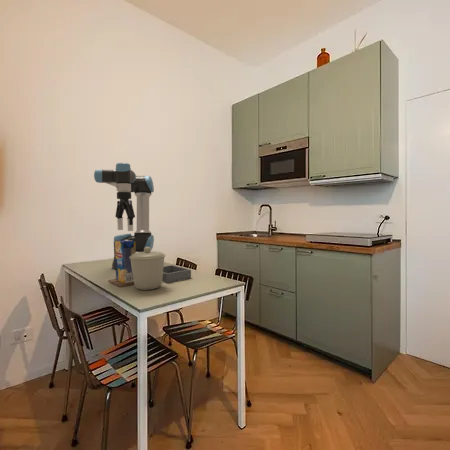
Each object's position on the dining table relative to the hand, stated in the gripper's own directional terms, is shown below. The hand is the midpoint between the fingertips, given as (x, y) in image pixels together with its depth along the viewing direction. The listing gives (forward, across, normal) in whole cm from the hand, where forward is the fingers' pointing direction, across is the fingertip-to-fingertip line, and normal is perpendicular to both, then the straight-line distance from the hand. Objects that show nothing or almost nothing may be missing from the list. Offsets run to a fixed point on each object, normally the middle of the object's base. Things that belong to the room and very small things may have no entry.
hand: (125, 230), depth 160 cm
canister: (+29, +19, +3) cm, 35 cm away
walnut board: (+29, 0, 0) cm, 29 cm away
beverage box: (+28, 0, 0) cm, 28 cm away
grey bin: (+29, +8, +23) cm, 37 cm away
